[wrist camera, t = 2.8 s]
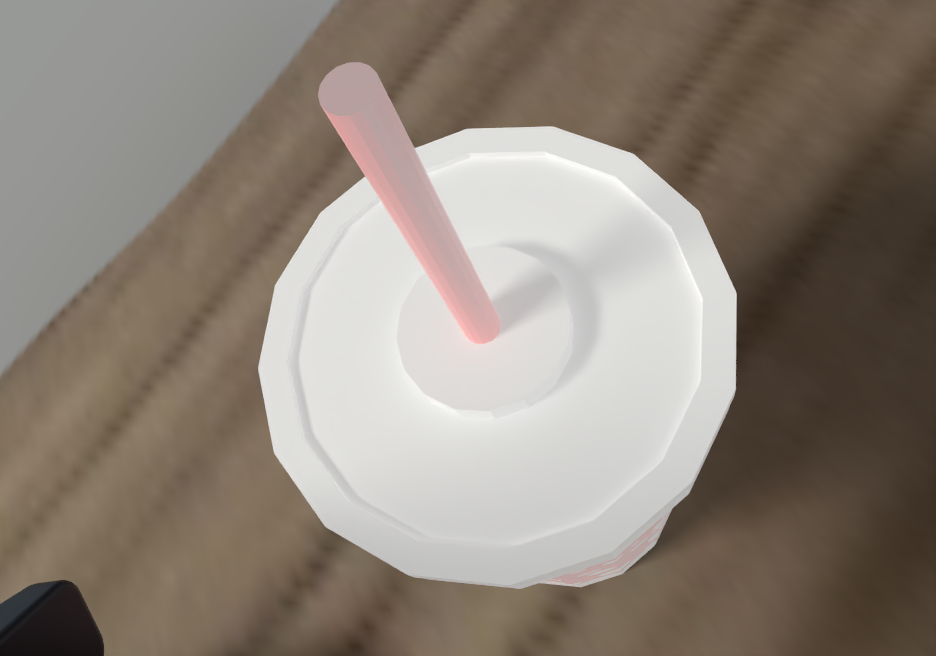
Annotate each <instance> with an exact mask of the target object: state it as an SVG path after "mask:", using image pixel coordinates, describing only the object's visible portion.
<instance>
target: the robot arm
mask: <svg viewBox="0 0 936 656" xmlns="http://www.w3.org/2000/svg"><path fill="white" fill-rule="evenodd" d="M0 656H104V643H103V638H102V636H101V633H100V631H99V629H98V627H97V625H96V623H95V621H94V619H93V617H92V615H91V613H90V611H89V609H88V607H87V605H86V603H85V601H84V599H83V597H82V595H81V593H80V591H79V589H78V588H77V586H76V585H74V584H73V583H72V582H70V581H67V580H59V581H52V582H44V583H37V584H33V585H30V586H28V587H26V588H25V589H23V590H22V591H20V592H19V593H17V594H15V595H14V596H12V597H11V598H9V599H8V600H6V601H4V602H3V603H1V604H0Z"/></svg>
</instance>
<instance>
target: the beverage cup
mask: <svg viewBox="0 0 936 656" xmlns="http://www.w3.org/2000/svg"><path fill="white" fill-rule="evenodd" d="M318 97H319V101H320V105H321V107H322V108H323V110H324V111H325V113H326V114H327V116H328V118H329V119H330V121H331V122H332V124H333V126H334V127H335V129H336V130H337V132H338V134H339V135H340V137H341V138H342V140H343V142H344V143H345V145H346V146H347V148H348V150H349V151H350V153H351V154H352V156H353V157H354V159H355V161H356V162H357V164H358V165H359V167H360V169H361V170H362V172H363V173H364V175H365V177H364V178H363V179H362V180H360V181H359V182H358V183H357V184H355V185H354V186H353V187H352V188H350V189H349V190H348V191H347V192H346V193H344V194H343V195H342V196H341V197H339V198H338V199H337V200H336V201H334V202H333V203H332V204H331V205H329V206H328V207H327V208H326V209H325V210H323V211H322V212H321V213H320V214H319V216H318V218H317V219H316V221H315V222H314V224H313V226H312V227H311V229H310V230H309V232H308V234H307V235H306V237H305V238H304V240H303V242H302V243H301V245H300V246H299V248H298V250H297V251H296V253H295V254H294V256H293V258H292V259H291V261H290V262H289V264H288V266H287V267H286V269H285V270H284V272H283V274H282V275H281V277H280V278H279V280H278V282H277V283H276V285H275V289H274V294H273V299H272V304H271V309H270V313H269V318H268V323H267V328H266V333H265V338H264V343H263V347H262V352H261V357H260V362H259V367H258V370H259V375H260V381H261V386H262V391H263V397H264V402H265V407H266V413H267V418H268V423H269V428H270V434H271V439H272V444H273V450H274V454H275V455H276V457H277V458H278V459H279V461H280V462H281V464H282V465H283V467H284V468H285V469H286V471H287V472H288V474H289V475H290V477H291V478H292V480H293V481H294V482H295V484H296V485H297V487H298V488H299V490H300V491H301V492H302V494H303V495H304V497H305V498H306V500H307V501H308V503H309V504H310V505H311V507H312V508H313V510H314V511H315V513H316V514H317V515H318V517H319V518H320V520H321V521H322V523H323V524H324V526H325V527H327V528H328V529H330V530H332V531H334V532H335V533H337V534H339V535H340V536H342V537H344V538H345V539H347V540H349V541H351V542H352V543H354V544H356V545H357V546H359V547H361V548H363V549H364V550H366V551H368V552H369V553H371V554H373V555H375V556H376V557H378V558H380V559H381V560H383V561H385V562H387V563H388V564H390V565H392V566H393V567H395V568H397V569H399V570H400V571H402V572H404V573H405V574H407V575H410V576H412V577H417V578H425V579H431V580H441V581H450V582H460V583H470V584H479V585H489V586H499V587H509V588H518V589H521V588H524V587H528V586H531V585H534V584H537V583H546V584H556V585H566V586H576V587H583V586H586V585H589V584H592V583H595V582H598V581H602V580H605V579H608V578H611V577H614V576H617V575H620V574H623V573H624V572H625V571H626V570H627V569H629V568H630V567H631V566H632V565H633V564H634V563H635V562H637V561H638V560H639V559H640V558H641V557H642V556H643V555H645V554H646V553H647V552H648V551H649V550H650V549H651V548H653V547H654V546H655V544H656V542H657V540H658V538H659V536H660V534H661V531H662V529H663V527H664V525H665V523H666V521H667V519H668V517H669V514H670V512H671V510H672V508H673V507H674V506H675V505H677V504H678V503H679V502H680V501H681V500H682V499H684V498H685V497H686V496H687V495H688V494H689V493H690V491H691V488H692V486H693V484H694V482H695V480H696V478H697V476H698V474H699V471H700V469H701V467H702V465H703V463H704V461H705V459H706V456H707V454H708V452H709V450H710V448H711V446H712V444H713V442H714V439H715V437H716V435H717V433H718V431H719V429H720V427H721V425H722V422H723V420H724V418H725V416H726V414H727V412H728V410H729V406H730V404H731V402H732V400H733V398H734V395H735V390H736V303H737V293H736V291H735V289H734V287H733V284H732V282H731V280H730V278H729V276H728V273H727V271H726V269H725V267H724V265H723V263H722V260H721V258H720V256H719V254H718V252H717V249H716V247H715V245H714V243H713V241H712V238H711V236H710V234H709V232H708V230H707V228H706V225H705V223H704V221H703V219H702V217H701V214H700V212H699V211H698V210H697V209H696V208H695V207H694V206H692V205H691V204H690V203H689V202H688V201H687V200H686V199H684V198H683V197H682V196H681V195H680V194H679V193H678V192H676V191H675V190H674V189H673V188H672V187H671V186H670V185H668V184H667V183H666V182H665V181H664V180H663V179H662V178H660V177H659V176H658V175H657V174H656V173H655V172H654V171H652V170H651V169H650V168H649V167H648V166H647V165H645V164H644V163H643V162H642V161H641V160H640V159H639V158H637V157H636V156H635V155H634V154H632V153H629V152H626V151H623V150H620V149H617V148H614V147H611V146H608V145H605V144H602V143H599V142H596V141H594V140H591V139H588V138H585V137H582V136H579V135H576V134H573V133H570V132H567V131H564V130H561V129H558V128H555V127H519V128H483V129H465V130H463V131H460V132H457V133H455V134H452V135H449V136H447V137H444V138H441V139H439V140H436V141H433V142H431V143H428V144H425V145H423V146H420V147H417V148H414V146H413V144H412V142H411V140H410V138H409V136H408V134H407V132H406V130H405V128H404V126H403V124H402V122H401V120H400V118H399V116H398V114H397V113H396V111H395V109H394V107H393V105H392V103H391V101H390V99H389V97H388V95H387V93H386V91H385V89H384V87H383V85H382V83H381V81H380V79H379V77H378V75H377V73H376V72H375V71H374V70H373V69H372V68H371V67H370V66H369V65H366V64H363V63H360V62H355V63H346V64H343V65H341V66H338V67H336V68H335V69H333V70H332V71H331V72H330V73H328V74H327V75H326V77H325V78H324V80H323V81H322V83H321V84H320V88H319V93H318Z"/></svg>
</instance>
